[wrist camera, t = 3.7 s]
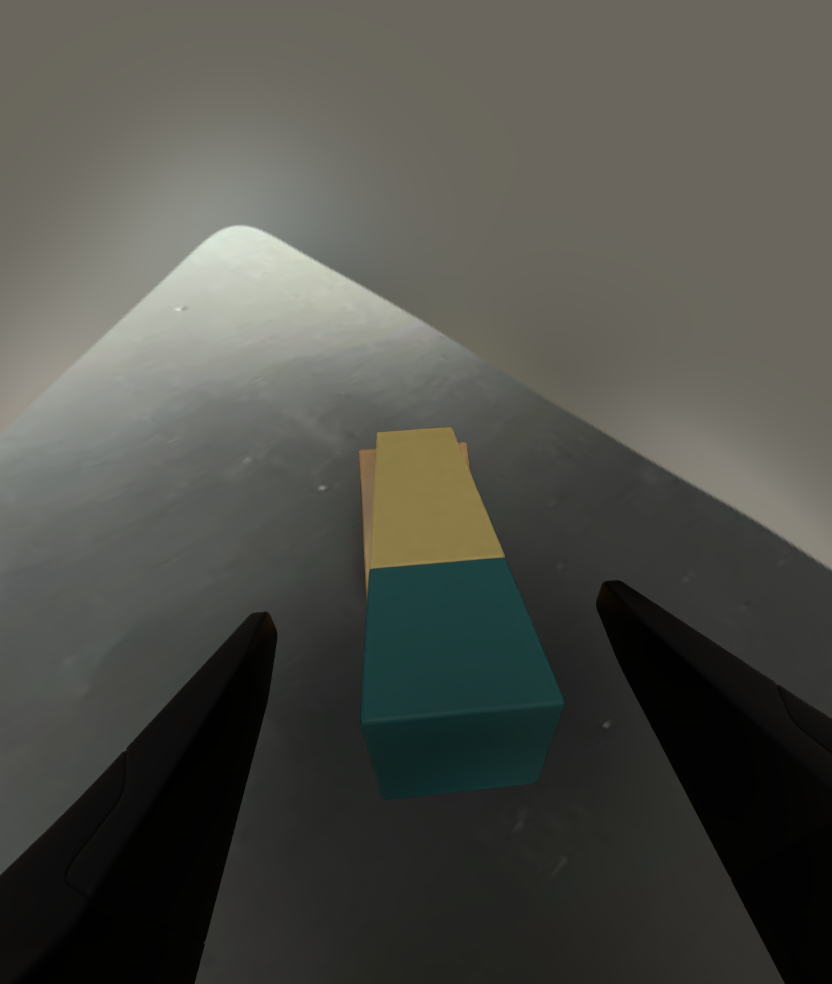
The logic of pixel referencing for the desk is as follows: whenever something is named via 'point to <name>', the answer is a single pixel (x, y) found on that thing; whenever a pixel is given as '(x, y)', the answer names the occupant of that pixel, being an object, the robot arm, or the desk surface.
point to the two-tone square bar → (446, 634)
